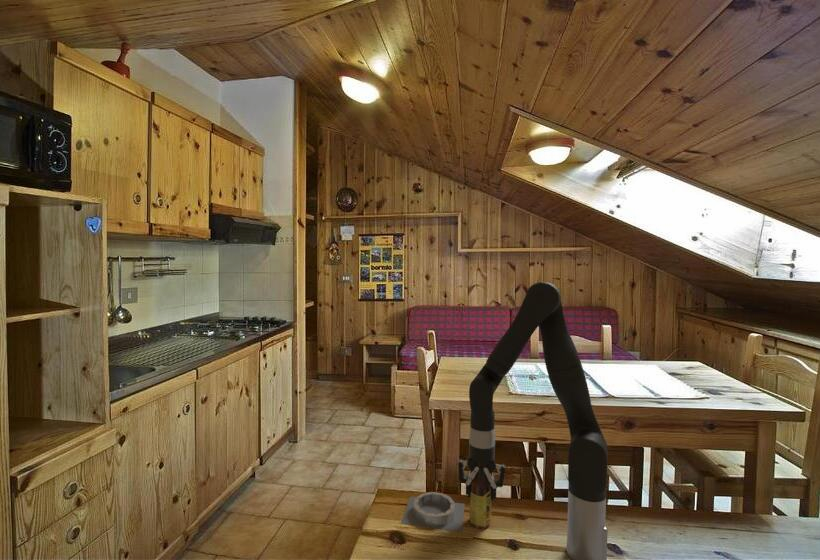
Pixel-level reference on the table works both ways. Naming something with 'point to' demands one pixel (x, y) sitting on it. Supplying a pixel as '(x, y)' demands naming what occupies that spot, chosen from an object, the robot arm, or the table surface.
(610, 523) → the table surface
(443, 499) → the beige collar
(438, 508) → the charcoal base
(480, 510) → the sauce bottle
